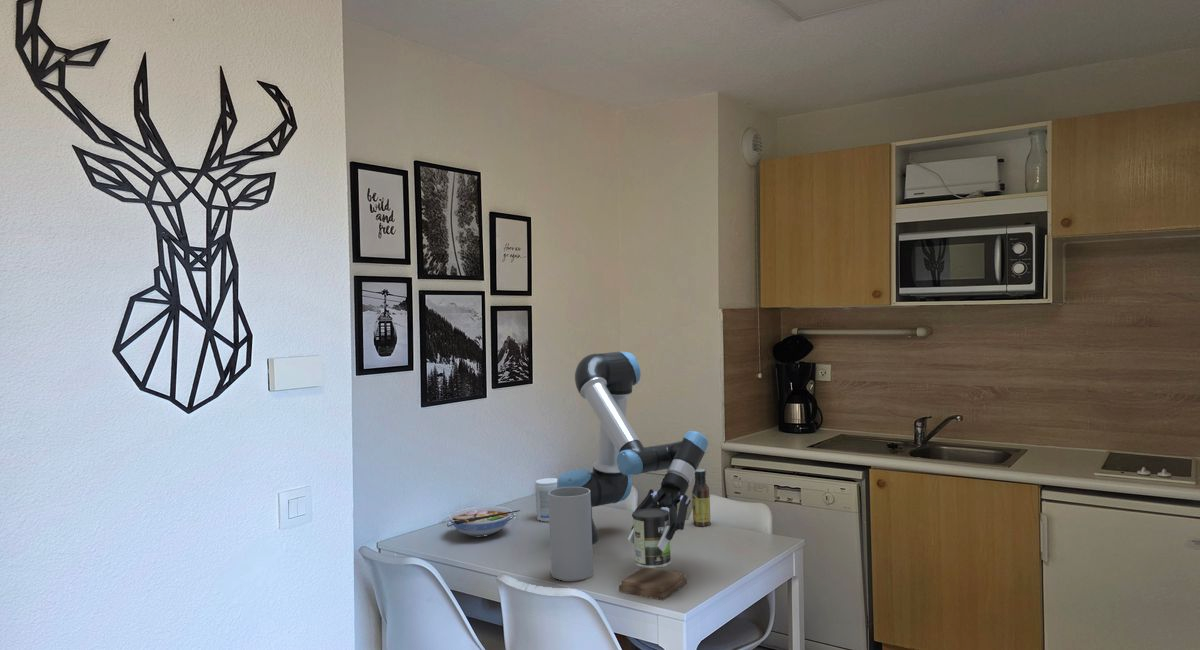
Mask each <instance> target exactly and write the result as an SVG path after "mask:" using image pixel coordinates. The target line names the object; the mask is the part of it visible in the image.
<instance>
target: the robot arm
mask: <svg viewBox="0 0 1200 650" xmlns="http://www.w3.org/2000/svg"><path fill="white" fill-rule="evenodd" d="M574 372H575V373H574V382H575V383H574V384H575V386H576V389H577V391H578V393H579V395H580V397H581V398H582V399H584V400H587V403H588V404H589V406H590V407H591V409H592V411H593V412H594V414H595V416H596V418H597V419H598V421H599V422H600V426H599V436H598V437H599V439H598V453H597V454H598V455H597V460H596V461H595V462H594V463H593V465H592V472H591V471H590V470H589V469H585V468H584V469H583V468H578V469H571V470H569V471H568V470H567V471H565V472H562V473H561V474H560V475H559V476H558V477H557V478H556V479H557V488H563V487H583V488H587V489H589V490H590V497H591V524H592V545H594V544H595V543H597V542H598V541H599V533H598V530H597V527H596V525H595V521H594V519H593V509H592V508H594V507H600V506H604V505H609V504H610V505H611V504H617V503H619V502H622V501H624V500H626V499H627V498H628V497H629V496H630V494H631V492H632V487H633V479H632V478H631V476H638V475H640V474H644V473H645V474H646V473H649V472H650V473H652V472H656V471H657V472H658V471H663V470H664V471H665V470H666V473H665V475H664V477H663V479H662V481H661V483H660V485H661V486H660V488H659V490H657V491H654V489H651V488H650V489H649V491H648V492H647V495H646V497H644V499H642V501H641V502H640V504H639V505H638V507H636V509H635V510H634V511H637V510H641V509H649V508H657V509H661V508H662V507H667V508H669V517H670V524H669V525H670V527H669V526H666V528H665V530H664V533H663V535H662V537H661V539H660V541H659V543H658V545H657V547H658V548H659V549H660V550H661V551H663V552H664V550H665V548H666V546H667V544H668V542H669V540H670V541H672V540H673V537H674V535H675V533H676V531H678V530H680V531H683V530H684V529H685V524H686V518H687V513H688V508H689V505H690V503H692V501H691V498H689V496H688V495H687V494H686V493H687V491H688V489H689V486H690V484H691V482H692V480H693V478H694V477H695V472H696V470H697V469H699V465H700V464H701V461H702V459H703V457H704V456H705V454H706V451H707V448H708V446H709V440H708V438H707V437H706V436H705V435H704V434H702V433H701V432H698V431H696V430H689V431H687V432H686V433H685V435H684V436H683V437H682V440H680V441H679V440H678V441H676V442H671V443H664V444H659V445H658V444H657V445H652V446H646V447H645V446H644V445H643V444H642V442H641V440H640V439H639V437H638V435H637V434H636V432H635V431H634V429H633V428H632V426H631V424H630V423H629V421H628V420H627V407H628V397H629V396H631V394H632V393H633V386H635V385H638V383H639V382H640V379H641V377H642V376H641V375H642V374H641V373H642V372H641V366H640V364H639V361H638V359H637V358H636V356H635V355H634V354H633V353H632V352H628V351H614V352H613V351H611V352H604V353H591V354H589V355H586V356H584V357H583V358H582V359H581V360H580V361H579V363H578V364H577V366H576V369H575V371H574ZM678 504H679V506H678ZM677 512H678V516H677ZM631 517H632V518H633V516H632V515H631ZM630 530H631V532H630V534H629V536H628V537H627V540H628V542H629V543H630V544H631V545H633V546H634V528H633V526H632V527H631V529H630Z"/></svg>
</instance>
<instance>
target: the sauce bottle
mask: <svg viewBox="0 0 1200 650" xmlns="http://www.w3.org/2000/svg"><path fill="white" fill-rule="evenodd" d="M706 474H707V472H706V469H703V468H697V470H696V472H695V474H694V485H693V487H692V490H691V491H692V492H691V495H692V496H691V499H692V501H691V504H692V520H693V525H695V526H696V527H697V526H698V527H707V526H709V525H710V524H711V500H710V499H711V498H710V497H711V496H710V488H709V486H708V484H707V482H706Z"/></svg>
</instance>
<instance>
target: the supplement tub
mask: <svg viewBox="0 0 1200 650" xmlns="http://www.w3.org/2000/svg"><path fill="white" fill-rule="evenodd" d="M557 479H558V478H557V477H556V478H553V477H551V478H550V477H548V478H547V477H545V478H541V479H537V480H535V486H534V487H535V488H534V489H535V503H536V504H535V505H536V507H535V509H536V518H537V520H538V521H539V520H541V521H540V522H542V521H549V499H548V492H549V491H551V490H553V489H557Z"/></svg>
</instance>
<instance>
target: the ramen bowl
mask: <svg viewBox="0 0 1200 650" xmlns="http://www.w3.org/2000/svg"><path fill="white" fill-rule="evenodd" d="M520 511H521V510H520V509H518V510H512V509H511V508H509V507H505V506H495V505H484V506H483V505H481V506H480V505H479V506H471V507H466V508H465V507H464V508H462V509H457V510H456V511H453V512H450V514H449V515H448V519H449V521H450V523H451V524H452V525H453V527H454V528H455V529H456V530H457V531H458V532H460V533H462V534H466V535H468V536H471V535H472V536H471V537H473V536H484V535H489V534H491V535H493V534H494V533H497V532H498V531H501V530H502V529H503V528H505V526H506V525H507V524H508V523H509V520H510V518H511V517H512V515H513V513H518V512H520ZM489 536H490V535H489Z"/></svg>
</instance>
